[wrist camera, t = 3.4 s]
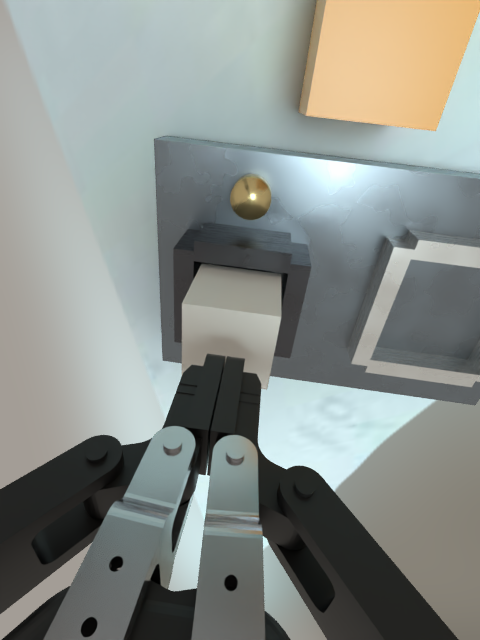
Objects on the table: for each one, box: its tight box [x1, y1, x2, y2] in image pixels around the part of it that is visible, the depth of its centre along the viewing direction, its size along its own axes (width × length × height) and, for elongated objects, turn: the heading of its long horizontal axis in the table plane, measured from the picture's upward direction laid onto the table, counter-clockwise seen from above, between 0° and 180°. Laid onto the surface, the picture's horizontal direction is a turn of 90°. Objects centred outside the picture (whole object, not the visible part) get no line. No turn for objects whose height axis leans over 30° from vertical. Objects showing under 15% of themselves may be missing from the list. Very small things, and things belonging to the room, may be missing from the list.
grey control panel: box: [154, 136, 480, 405], centre depth 19 cm, size 22×14×5 cm, turn 84°
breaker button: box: [182, 264, 281, 389], centre depth 16 cm, size 4×4×4 cm
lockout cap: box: [299, 0, 480, 131], centre depth 13 cm, size 4×4×6 cm
